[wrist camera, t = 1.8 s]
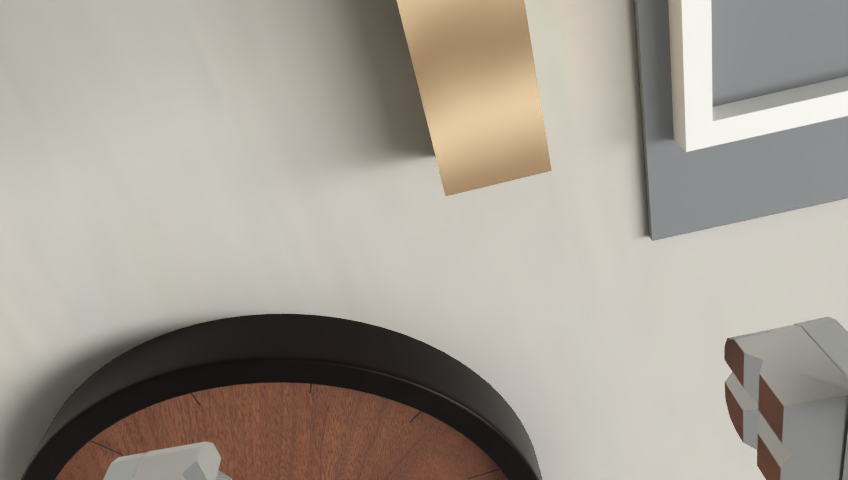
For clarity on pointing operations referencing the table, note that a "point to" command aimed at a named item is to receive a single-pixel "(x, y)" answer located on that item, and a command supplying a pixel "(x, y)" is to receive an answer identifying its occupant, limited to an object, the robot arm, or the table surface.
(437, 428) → the wall clock
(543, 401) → the table surface
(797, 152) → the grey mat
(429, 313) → the table surface
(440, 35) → the tan wooden bar
